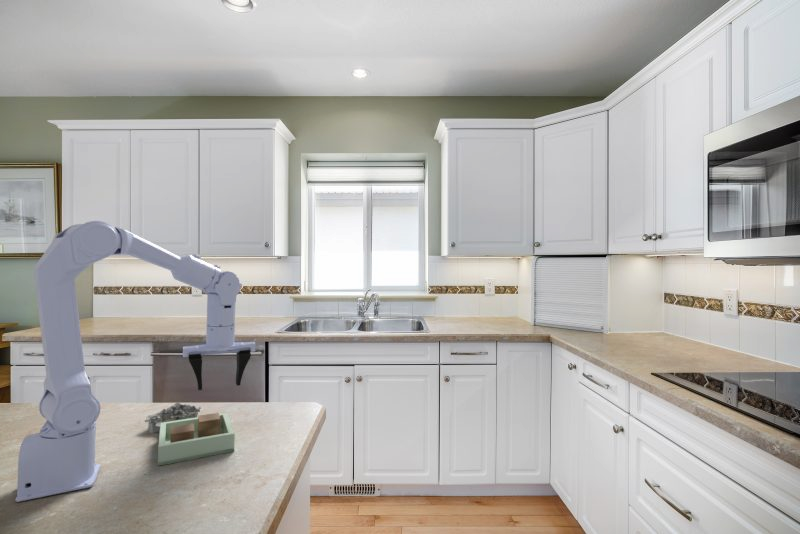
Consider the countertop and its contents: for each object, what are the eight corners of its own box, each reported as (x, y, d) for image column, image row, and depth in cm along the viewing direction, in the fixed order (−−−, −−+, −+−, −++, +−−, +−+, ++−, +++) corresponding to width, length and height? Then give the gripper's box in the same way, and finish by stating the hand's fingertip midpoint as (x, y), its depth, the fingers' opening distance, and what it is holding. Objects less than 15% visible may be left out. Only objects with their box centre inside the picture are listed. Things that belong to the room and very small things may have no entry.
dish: (157, 466, 72) (158, 446, 72) (160, 439, 83) (160, 422, 83) (234, 451, 78) (234, 433, 78) (226, 428, 90) (227, 412, 90)
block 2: (198, 441, 81) (199, 421, 81) (197, 434, 85) (198, 415, 85) (219, 437, 83) (220, 418, 83) (217, 430, 87) (218, 412, 87)
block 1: (169, 455, 75) (170, 434, 75) (170, 447, 78) (171, 426, 78) (193, 451, 77) (194, 430, 77) (193, 443, 80) (193, 423, 80)
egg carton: (169, 437, 85) (169, 418, 85) (140, 433, 87) (141, 415, 87) (203, 419, 96) (204, 402, 96) (177, 416, 97) (177, 399, 97)
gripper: (183, 329, 80) (182, 396, 80) (258, 325, 87) (257, 387, 87) (183, 325, 86) (181, 387, 86) (253, 321, 93) (251, 379, 93)
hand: (219, 386), depth 87 cm, fingers open, 7 cm apart
